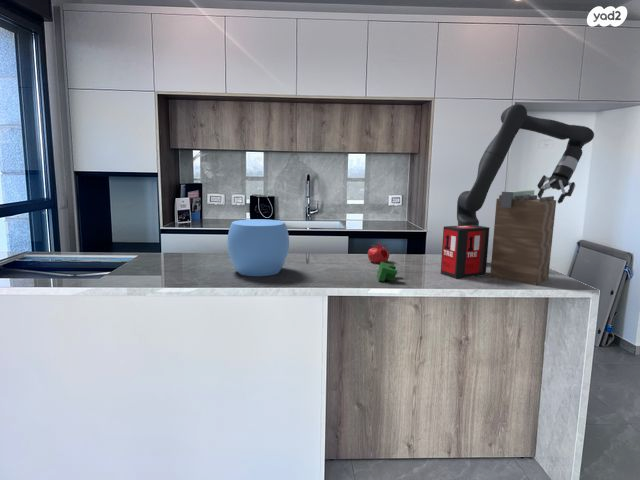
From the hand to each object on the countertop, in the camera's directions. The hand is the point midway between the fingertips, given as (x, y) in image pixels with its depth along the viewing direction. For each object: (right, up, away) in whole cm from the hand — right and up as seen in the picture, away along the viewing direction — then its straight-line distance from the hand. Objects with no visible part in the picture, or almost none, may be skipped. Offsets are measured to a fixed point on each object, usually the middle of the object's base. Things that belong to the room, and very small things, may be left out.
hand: (548, 200), depth 204 cm
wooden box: (-20, -33, -15) cm, 41 cm away
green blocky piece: (-74, -33, -21) cm, 84 cm away
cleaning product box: (-41, -32, -11) cm, 53 cm away
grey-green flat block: (-19, 0, -14) cm, 24 cm away
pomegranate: (-74, -28, +10) cm, 80 cm away
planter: (-126, -31, -13) cm, 130 cm away
